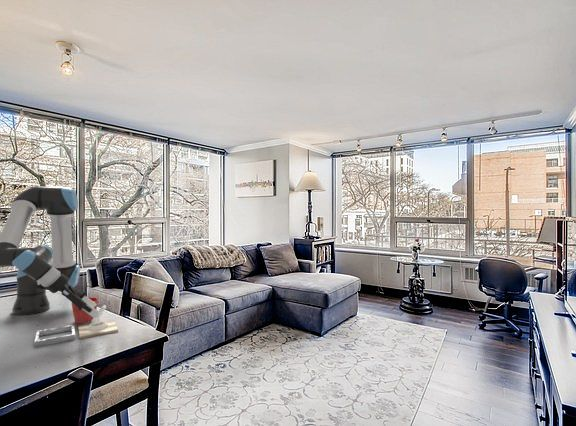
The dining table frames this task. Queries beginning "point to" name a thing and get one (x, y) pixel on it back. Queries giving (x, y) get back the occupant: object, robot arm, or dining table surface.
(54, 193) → the robot arm
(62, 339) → the steel holder
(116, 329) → the birch pad
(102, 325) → the hook
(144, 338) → the dining table surface
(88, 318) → the flower pot
